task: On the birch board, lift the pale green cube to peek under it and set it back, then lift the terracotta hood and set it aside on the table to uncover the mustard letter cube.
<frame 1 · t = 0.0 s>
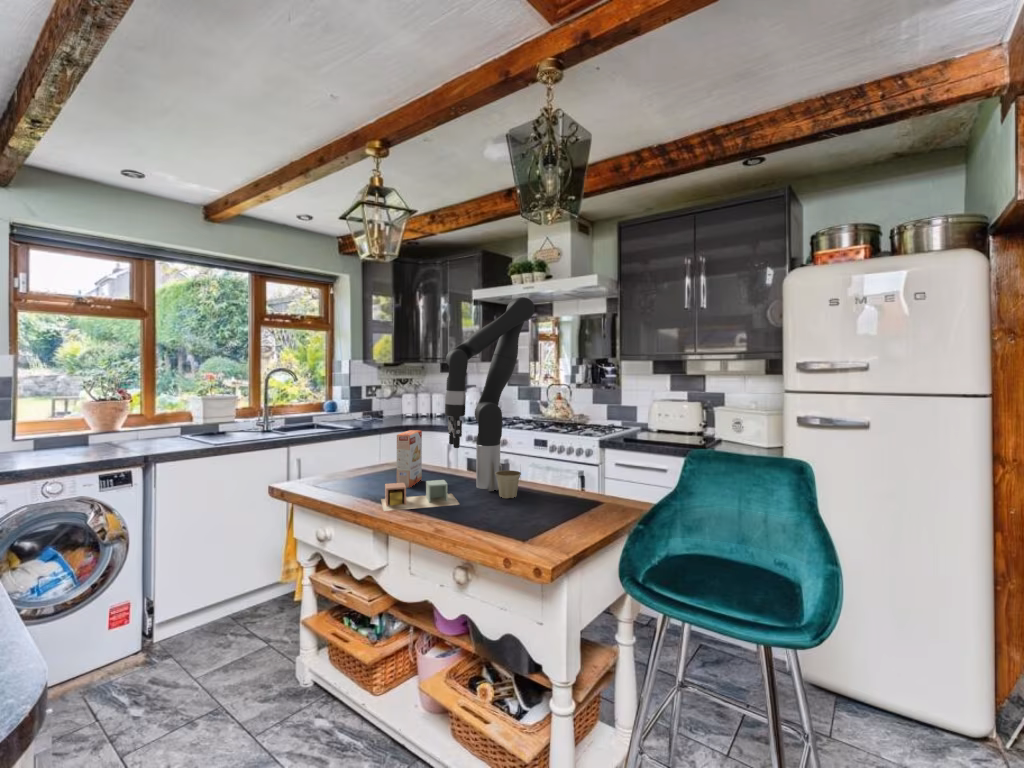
hand: (454, 446, 194), 17 cm above the table, tool pointing down, fingers open, 8 cm apart
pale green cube: (436, 499, 179), point 1 cm above the table, touching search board
flower pot: (508, 497, 187), on the table
terracotta hood: (395, 502, 175), point 1 cm above the table, touching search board
cracker box: (409, 485, 205), on the table
letter cube: (395, 503, 175), point 1 cm above the table, touching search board
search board: (419, 504, 177), on the table
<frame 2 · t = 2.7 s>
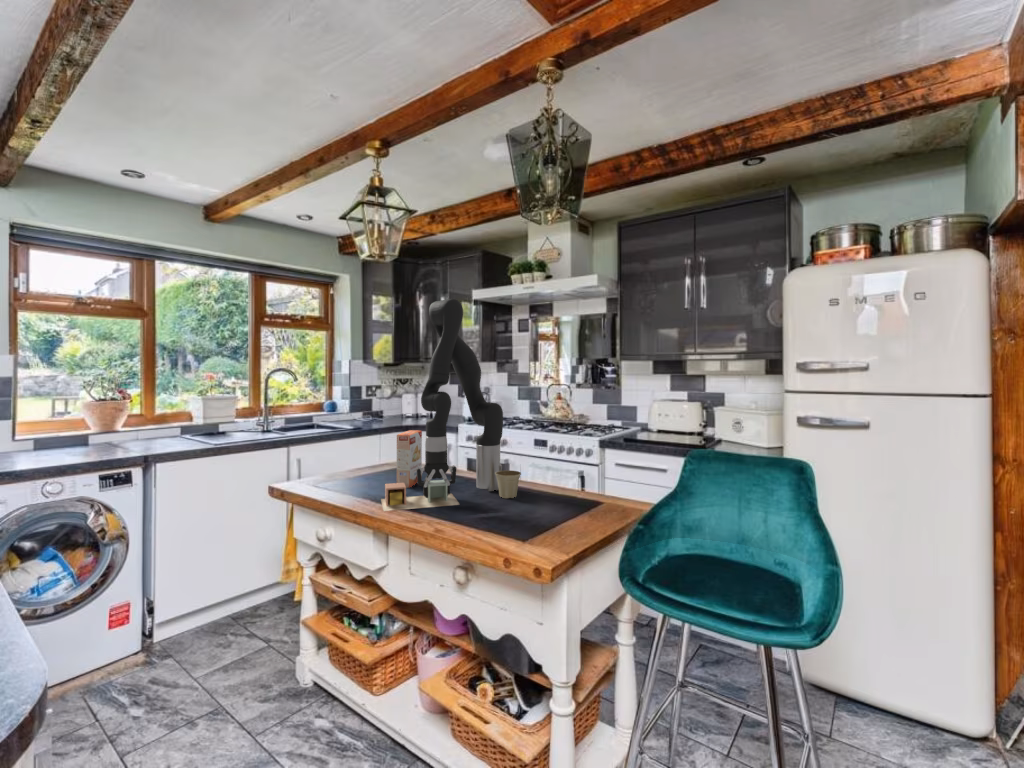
hand: (436, 496, 179), 2 cm above the table, tool pointing down, fingers closed on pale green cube, 6 cm apart
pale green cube: (436, 499, 179), point 1 cm above the table, touching gripper, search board
everything else where it was.
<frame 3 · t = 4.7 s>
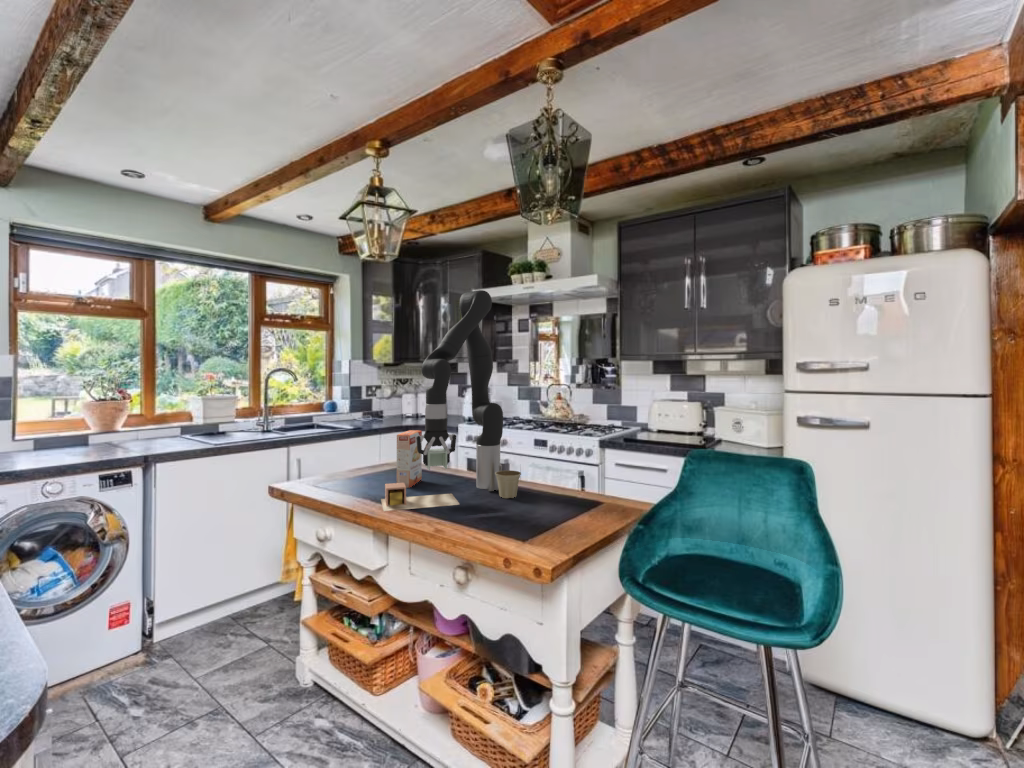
hand: (436, 464, 179), 13 cm above the table, tool pointing down, fingers closed on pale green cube, 6 cm apart
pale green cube: (436, 467, 179), point 12 cm above the table, touching gripper
everything else where it was.
when the fingers open (3 cm above the table, at t = 6.6 s): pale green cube drops 1 cm, resting on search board.
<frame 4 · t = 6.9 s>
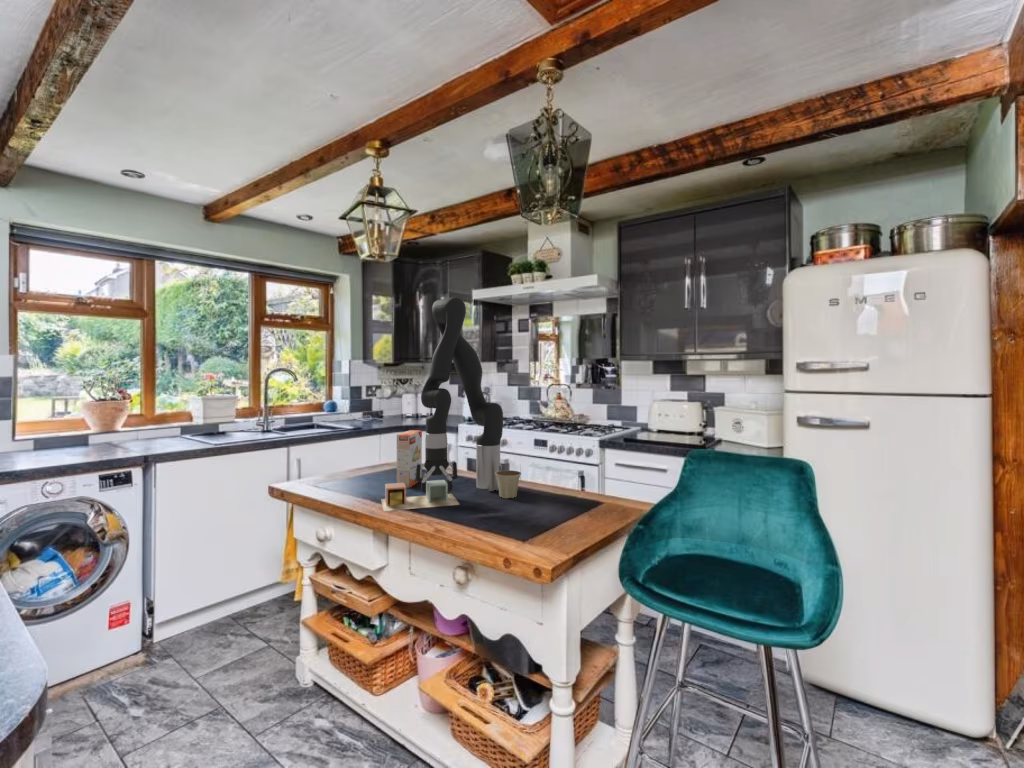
hand: (436, 492, 179), 4 cm above the table, tool pointing down, fingers open, 8 cm apart
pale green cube: (436, 499, 179), point 1 cm above the table, touching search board
everything else where it was.
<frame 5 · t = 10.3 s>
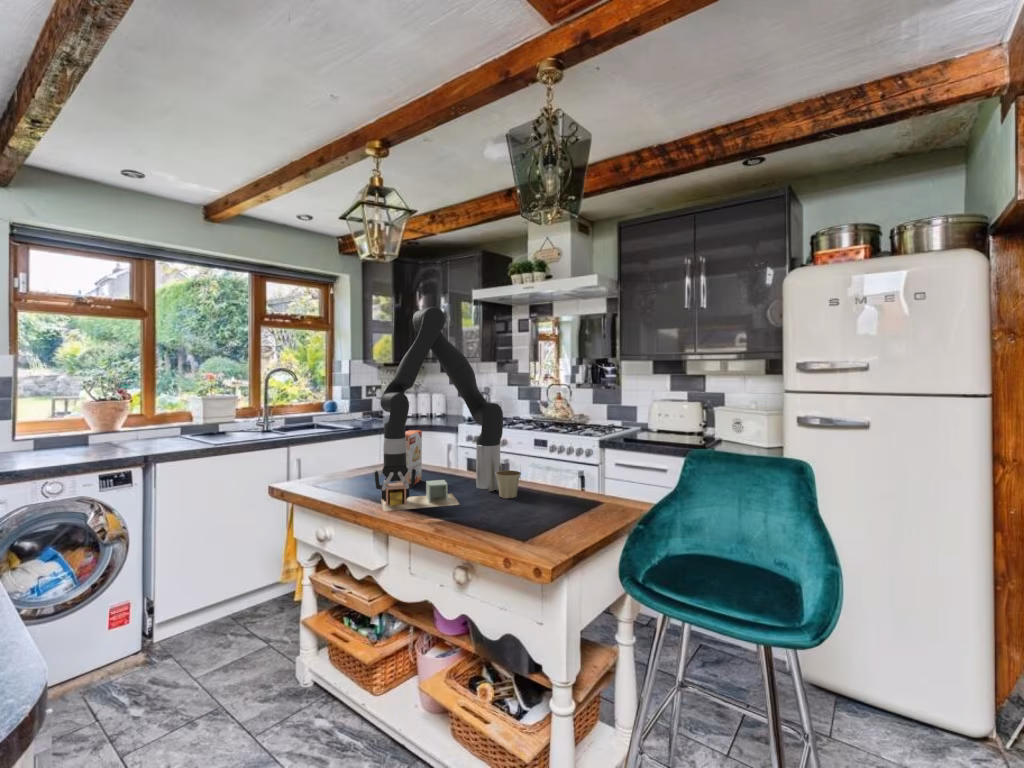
hand: (395, 499, 175), 2 cm above the table, tool pointing down, fingers closed on terracotta hood, 6 cm apart
terracotta hood: (395, 502, 175), point 1 cm above the table, touching gripper, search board
everything else where it was.
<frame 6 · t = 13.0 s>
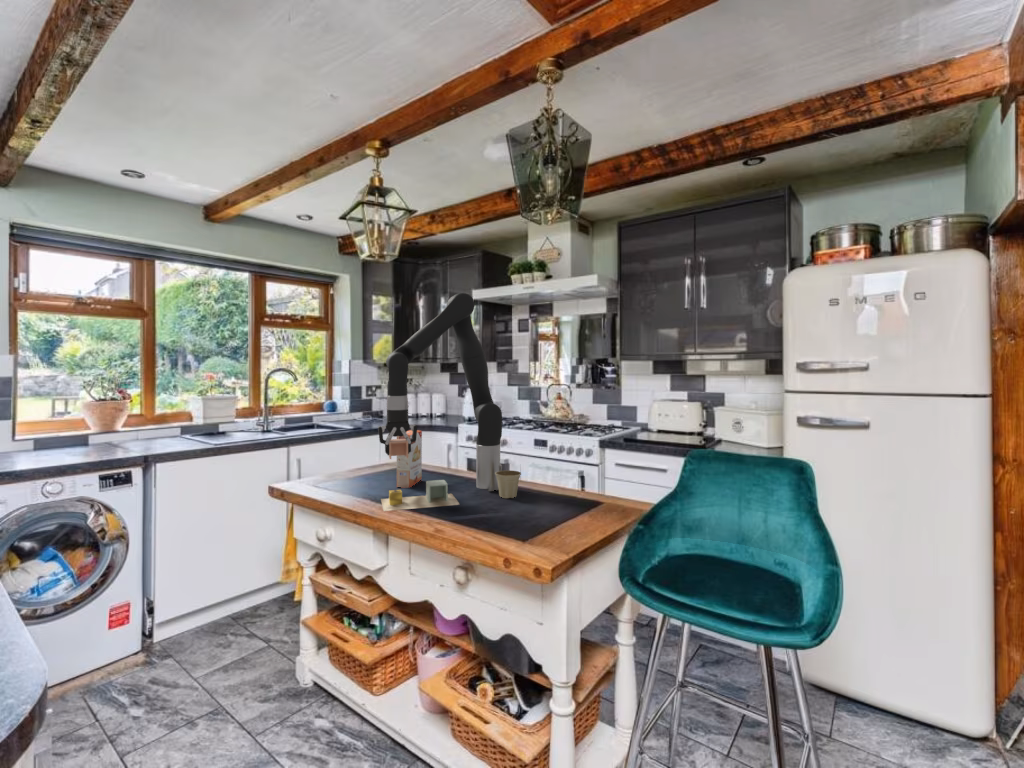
hand: (398, 454, 186), 15 cm above the table, tool pointing down, fingers closed on terracotta hood, 6 cm apart
terracotta hood: (398, 456, 187), point 14 cm above the table, touching gripper
everything else where it was.
when the fingers open (2 cm above the table, at t = 15.5 s): terracotta hood drops 1 cm, on the table.
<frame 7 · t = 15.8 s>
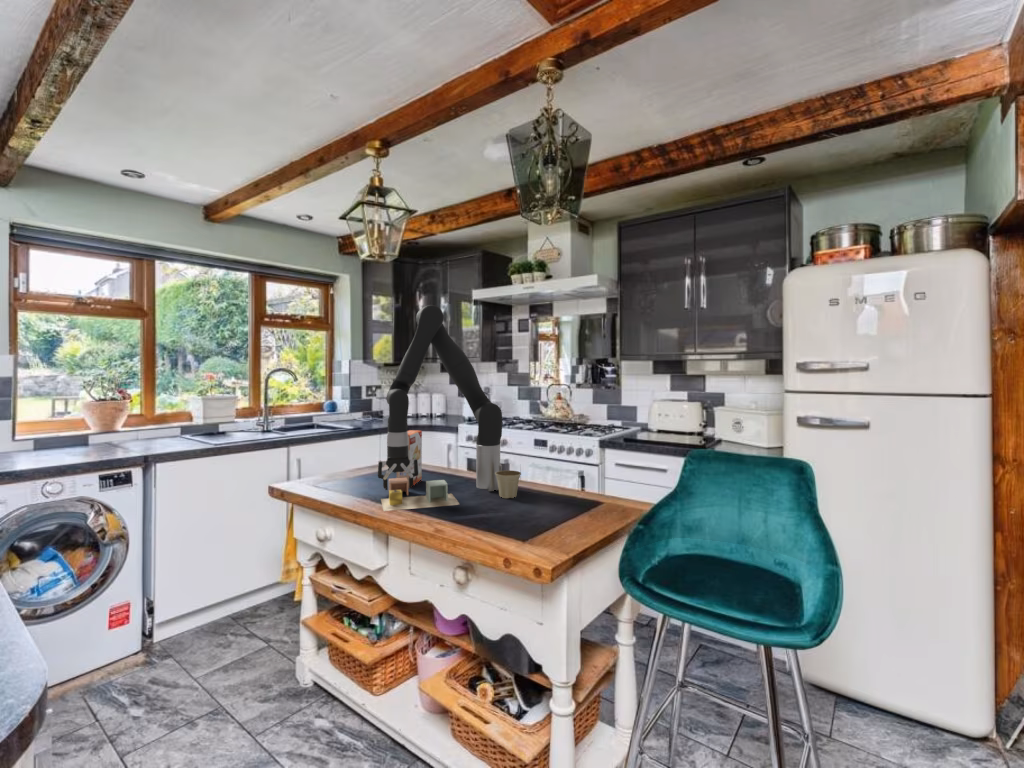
hand: (398, 488, 187), 3 cm above the table, tool pointing down, fingers open, 8 cm apart
terracotta hood: (398, 496, 187), on the table
everything else where it was.
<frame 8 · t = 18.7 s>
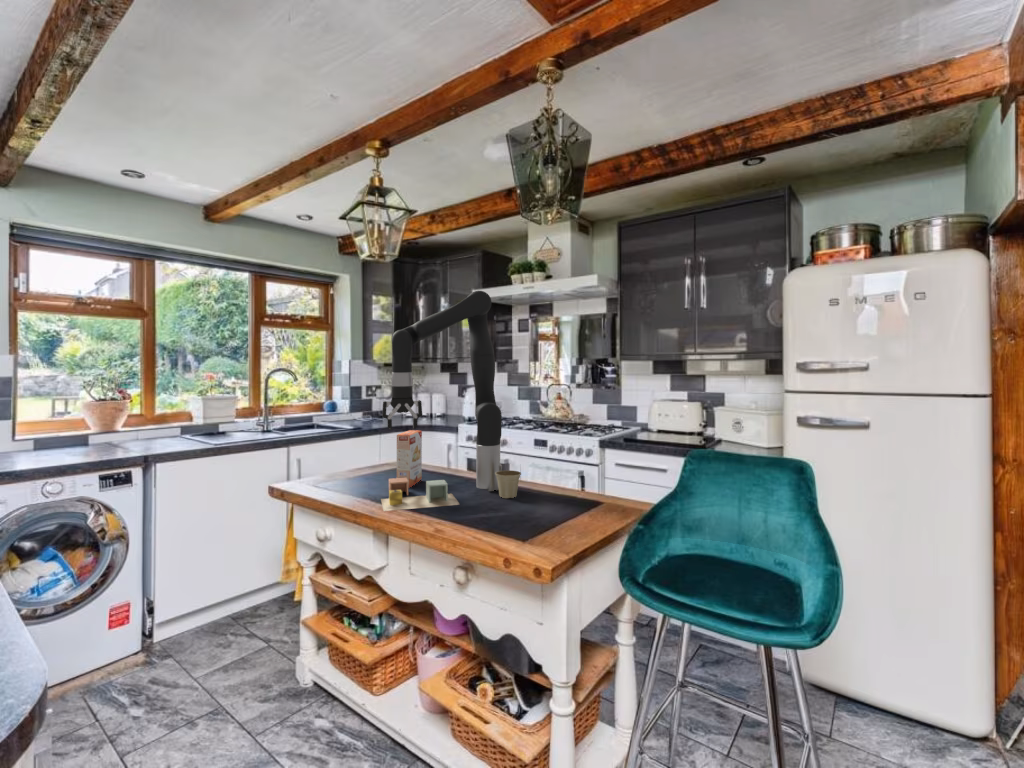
hand: (402, 429, 190), 24 cm above the table, tool pointing down, fingers open, 8 cm apart
nothing on the table moved.
at the end: terracotta hood inside the target area (0.1 cm from its centre), on the table; letter cube moved 0.0 cm from its start; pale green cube moved 0.0 cm from its start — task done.
